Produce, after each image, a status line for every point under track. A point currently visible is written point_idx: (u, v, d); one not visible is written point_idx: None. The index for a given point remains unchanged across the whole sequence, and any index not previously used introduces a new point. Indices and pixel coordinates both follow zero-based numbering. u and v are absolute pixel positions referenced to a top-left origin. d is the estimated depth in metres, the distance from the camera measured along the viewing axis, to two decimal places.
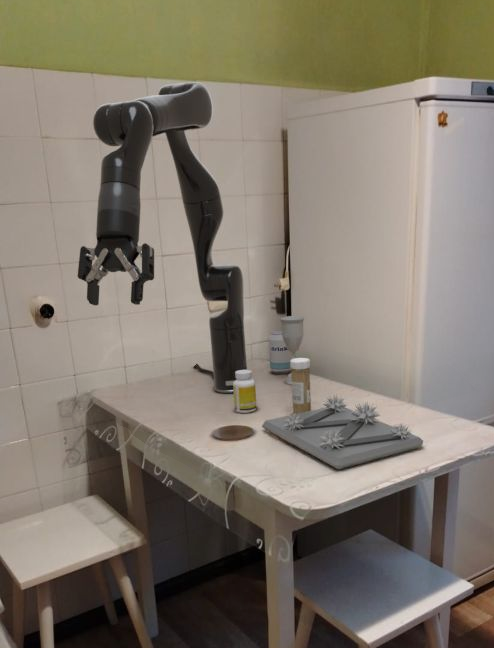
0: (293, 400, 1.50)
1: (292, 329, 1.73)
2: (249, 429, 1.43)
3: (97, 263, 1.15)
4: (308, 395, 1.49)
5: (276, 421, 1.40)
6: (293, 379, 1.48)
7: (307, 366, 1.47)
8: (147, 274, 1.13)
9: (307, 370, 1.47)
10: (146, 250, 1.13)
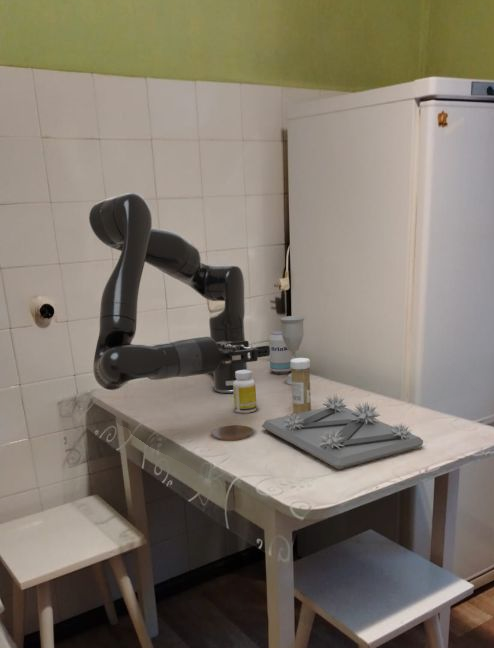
0: (293, 400, 1.50)
1: (292, 329, 1.73)
2: (249, 429, 1.43)
3: None
4: (308, 395, 1.49)
5: (276, 421, 1.40)
6: (293, 379, 1.48)
7: (307, 366, 1.47)
8: (256, 360, 1.33)
9: (307, 370, 1.47)
10: (238, 362, 1.31)
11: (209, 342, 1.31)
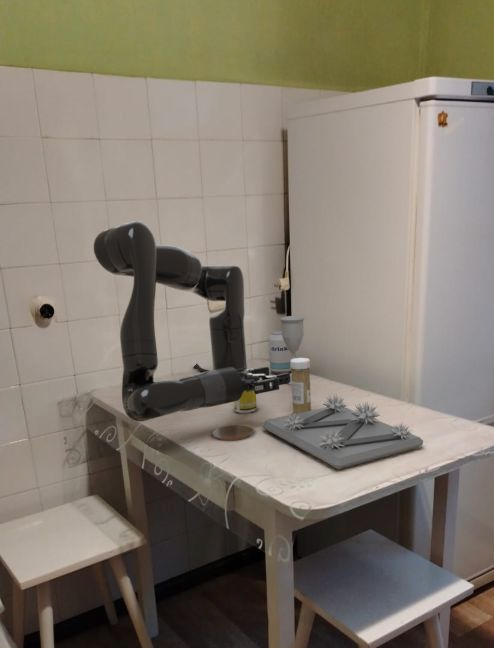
0: (293, 400, 1.50)
1: (292, 329, 1.73)
2: (249, 429, 1.43)
3: None
4: (308, 395, 1.49)
5: (276, 421, 1.40)
6: (293, 379, 1.48)
7: (307, 366, 1.47)
8: (278, 389, 1.38)
9: (307, 370, 1.47)
10: (260, 392, 1.36)
11: (232, 373, 1.36)
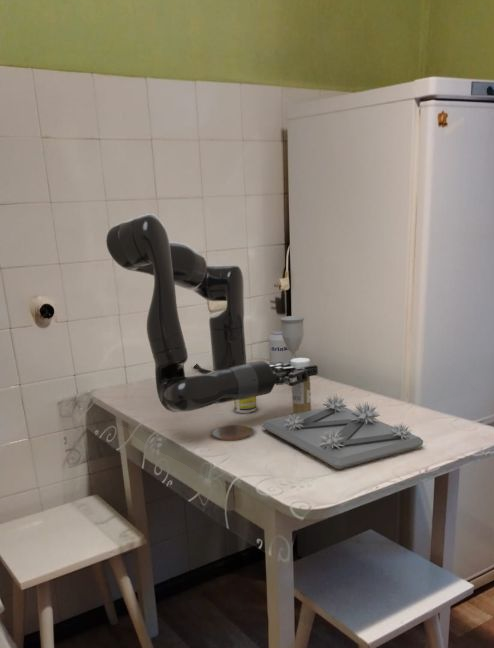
0: (293, 400, 1.50)
1: (292, 329, 1.73)
2: (249, 429, 1.43)
3: None
4: (308, 395, 1.49)
5: (276, 421, 1.40)
6: None
7: None
8: (306, 380, 1.44)
9: None
10: None
11: (264, 366, 1.40)
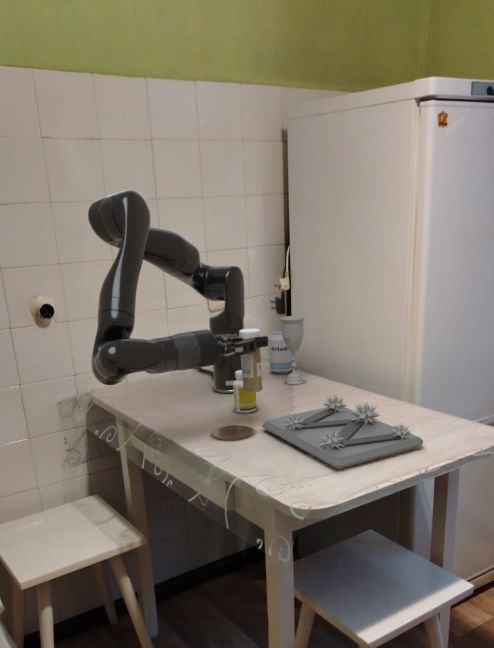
0: (242, 374, 1.40)
1: (292, 329, 1.73)
2: (249, 429, 1.43)
3: None
4: (258, 368, 1.39)
5: (276, 421, 1.40)
6: None
7: None
8: (255, 351, 1.33)
9: None
10: (240, 354, 1.31)
11: (208, 334, 1.30)
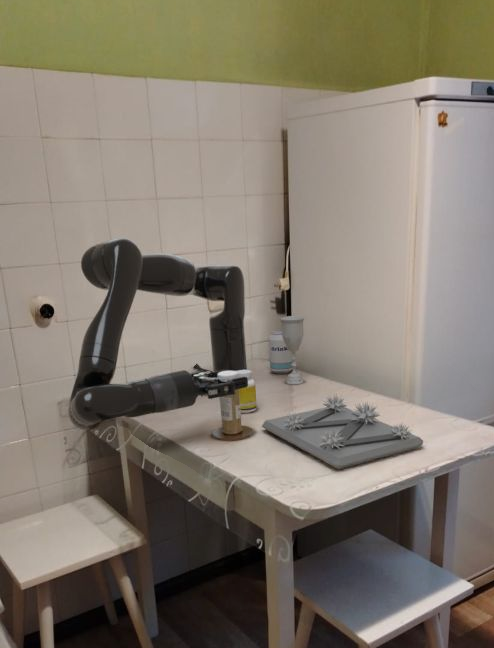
0: (222, 416, 1.40)
1: (292, 329, 1.73)
2: (249, 429, 1.43)
3: None
4: (237, 411, 1.38)
5: (276, 421, 1.40)
6: None
7: None
8: (233, 393, 1.31)
9: None
10: None
11: (185, 376, 1.29)
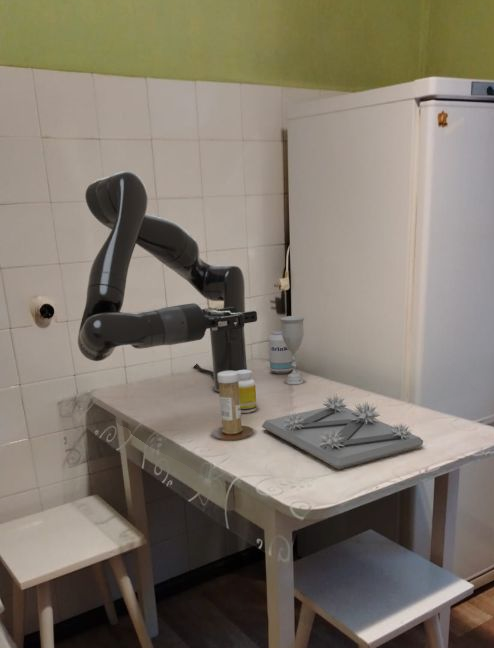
0: (222, 416, 1.40)
1: (292, 329, 1.73)
2: (249, 429, 1.43)
3: None
4: (237, 411, 1.38)
5: (276, 421, 1.40)
6: (220, 394, 1.37)
7: (235, 380, 1.36)
8: (243, 326, 1.30)
9: (235, 384, 1.37)
10: None
11: (194, 308, 1.29)
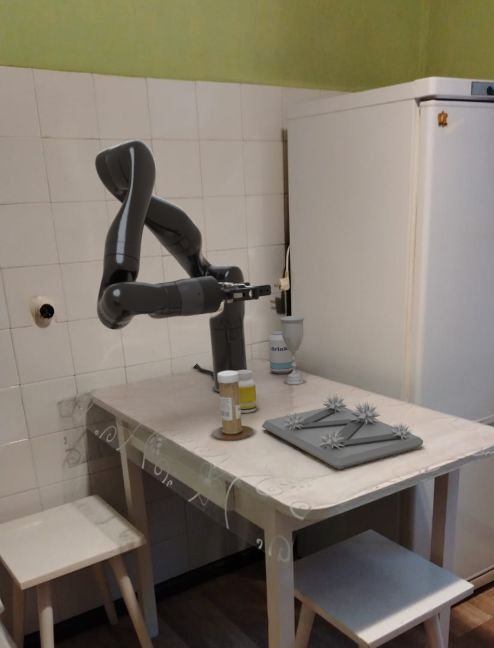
0: (222, 416, 1.40)
1: (292, 329, 1.73)
2: (249, 429, 1.43)
3: None
4: (237, 411, 1.38)
5: (276, 421, 1.40)
6: (220, 394, 1.37)
7: (235, 380, 1.36)
8: (258, 298, 1.33)
9: (235, 384, 1.37)
10: (239, 300, 1.32)
11: (210, 280, 1.32)
